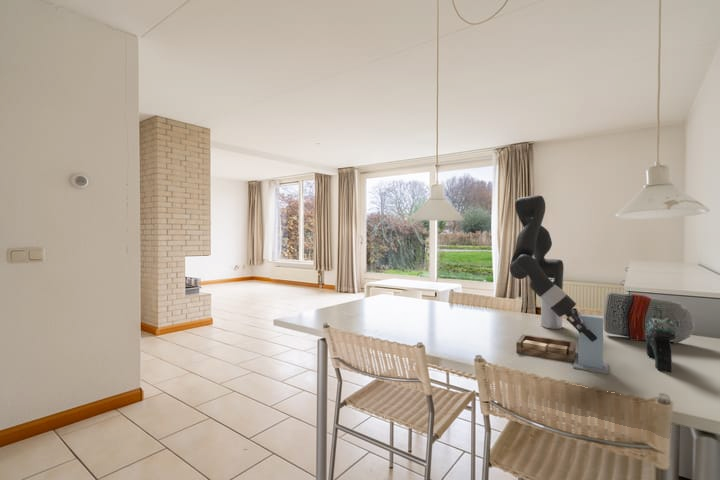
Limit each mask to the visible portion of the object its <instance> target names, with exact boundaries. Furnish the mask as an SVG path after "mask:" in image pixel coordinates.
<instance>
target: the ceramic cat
mask: <svg viewBox="0 0 720 480" xmlns="http://www.w3.org/2000/svg"><path fill="white" fill-rule="evenodd" d="M659 311H660V313H661V315H660V318H659V316H658V315H654V317H653V318H650V319H649V321H648V324H646V325H645V339H646V340H645V348H646V355H648V356H649V357H648V356H647V357H648V358H651V357H655V358H654V361H655V362H654V363H655V364H654V366H655V368H656V369H657V371H658V372H665V371H666V372H667V373H672V365H673V364H672V362H673V361H672V360H673V357H672V347H671V343H670V340H672V339H675V328H674V324H673V323H672V321H670V318H666V319H665V320H662V308H660V309H659ZM656 316H657V317H658V319H654V318H655V317H656ZM666 372H665V373H666Z"/></svg>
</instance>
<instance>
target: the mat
mask: <svg viewBox="0 0 720 480" xmlns="http://www.w3.org/2000/svg"><path fill="white" fill-rule="evenodd" d="M572 368H573V369H577V370H580V371H581V370H582V371H587V372H593V373H597V374H598V373H599V374H604V375H609V373H610V371H609V370H610V369H609V363H608V362H603V369H602V368H597V367H591V366H585V365H579V364H578V357H574V362H573V365H572Z"/></svg>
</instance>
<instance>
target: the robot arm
mask: <svg viewBox="0 0 720 480" xmlns="http://www.w3.org/2000/svg"><path fill="white" fill-rule="evenodd" d="M514 207H515V213H516V215H517V217H518V220H519V221H520V223H521V225H522V227H523V229H521V231H520V232H519V233H518V235H517V238H516V243H515V250H514V252H513V256H512V257H511V260H510V264H509V272H510V274H511V276H512V277H514V278H515V279H516V280H522V279H525V278H527V277H529V279H530V283H529V288H530V289H531V290H532V291H533V292H534V293H535V294H536V295H537V296H538V297H539V298H540V325H541V327H542V328H546V329H553V330H554V329H555V330H557V329H563V316H566V317H567V318H566V321H567V322H568V323H569V324H571V326H573V328H574V329H576V331H577V332H578V333H579V332H580V333H583V334H584V335H585V336H586V337H587V338H588V339H589V340H590V341H592V342H593V341H595V340H596V339H597V337H596V336H595V335H594V334H593V333H592V332H591V331H590V330H589V329H588V327H587V326H586V325H585V322H584V320H583V319H582V318H581V317H580V315H579V314H582V313H581V312H580V311H579V310H577V308H576V305H577V303H576V302H575V301H574V300H573V298H571V296H569V295H568V294H567V293H566V292H565V291H564V290H563V287H564V284H563V282H564V269H565V268H564V262H563V260H561V259H556V258H555V259H554V258H545V256H546V255H547V254H548V252H550V250H551V248H552V244H553V241H552V237H551V235H550V232H549V230H548V229H547V228H545V226H543V225H542V223H543V220H544V217H545V213H546V201H545V198H544V196H542V195H540V194H539V195H538V194H537V195H531V196H529V195H528V196H522V197H519V198H517V199H516V200H515V203H514ZM551 279H554V280H553V281H552V280H551ZM581 326H582V327H581ZM580 327H581V328H580Z"/></svg>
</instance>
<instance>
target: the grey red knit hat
mask: <svg viewBox="0 0 720 480" xmlns="http://www.w3.org/2000/svg"><path fill="white" fill-rule="evenodd" d="M660 308H662V320H665V319H666V318H670V321H672V323H673V324H674V328H675V339H672V340H670V342H674V343H673V344H679V343H681V342H682V341H685V340H687V339H689V338H690V337H691V335H692V333H693V331H694V330H695V328H696V325H695V320H694V316H693V314H692V313H691V312H690V311H689V310H688V309H687V307H685V306H682V304H681V303H680V302H676V301H673V300H669V299H667V298H666V299H665V298H658V297H651V296H650V297H649V296H646V295H643V294H635V293H631V294H628V293H622V292H613V291H608V292H607V293H606V299H605V303H604V310H603V332H606V334H610V335H616V336H621V337H626V338H629V340H630V339H638V340H637V341H639V340H643V341H646V339H645V325H646V324H648V321H649V319H650V318H653V317H654V315H658V316H659V318H660V315H661V313H660V311H659V309H660ZM654 319H658V317H657V316H656V317H655V318H654Z"/></svg>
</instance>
